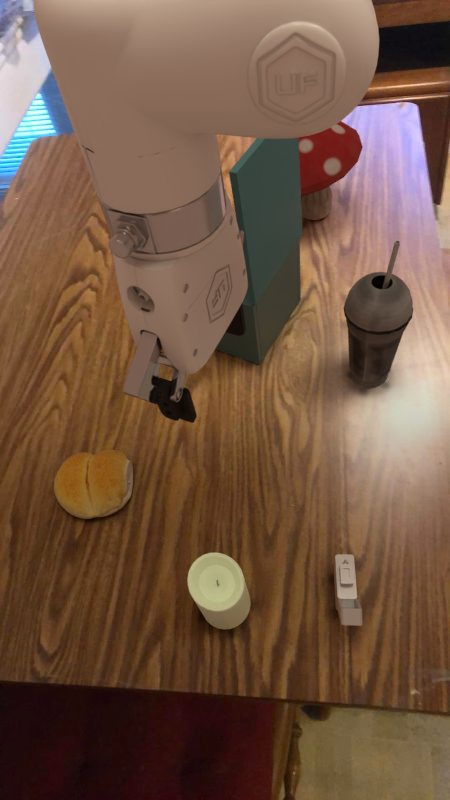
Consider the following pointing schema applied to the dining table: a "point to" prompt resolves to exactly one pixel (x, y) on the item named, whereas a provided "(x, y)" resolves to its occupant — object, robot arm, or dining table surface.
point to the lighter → (346, 590)
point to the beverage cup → (376, 323)
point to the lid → (267, 208)
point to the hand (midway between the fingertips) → (205, 370)
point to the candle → (219, 590)
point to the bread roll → (94, 483)
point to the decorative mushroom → (325, 166)
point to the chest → (267, 313)
